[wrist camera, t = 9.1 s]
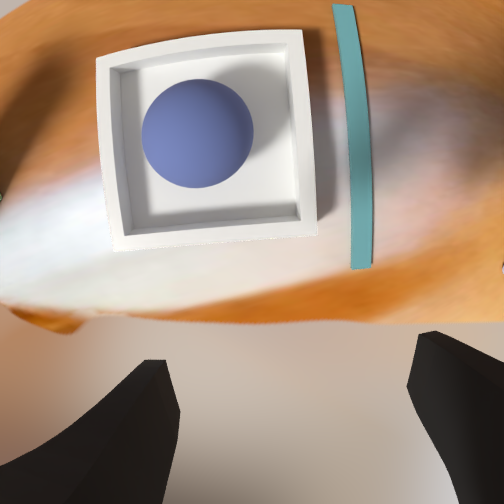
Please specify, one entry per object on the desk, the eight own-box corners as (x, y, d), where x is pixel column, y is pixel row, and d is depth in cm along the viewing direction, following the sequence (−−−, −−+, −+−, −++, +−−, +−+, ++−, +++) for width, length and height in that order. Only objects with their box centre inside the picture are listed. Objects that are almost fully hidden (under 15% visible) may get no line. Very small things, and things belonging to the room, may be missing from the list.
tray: (296, 42, 14) (301, 29, 13) (309, 226, 18) (317, 235, 16) (110, 66, 15) (96, 58, 13) (126, 242, 18) (113, 252, 16)
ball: (270, 118, 15) (280, 102, 11) (222, 200, 17) (213, 217, 12) (187, 77, 15) (165, 47, 10) (142, 158, 16) (104, 159, 11)
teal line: (369, 266, 18) (370, 267, 18) (350, 267, 18) (352, 269, 18) (350, 7, 14) (352, 5, 13) (331, 5, 14) (333, 3, 13)
